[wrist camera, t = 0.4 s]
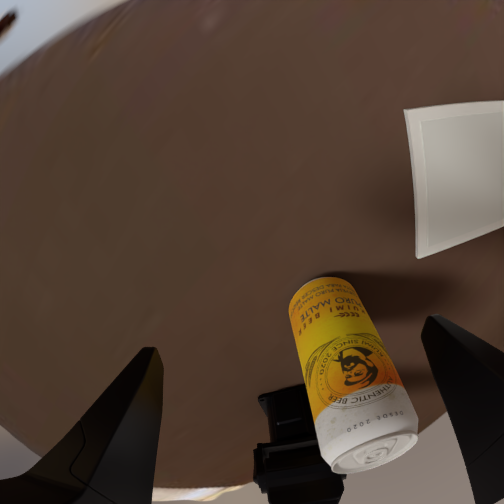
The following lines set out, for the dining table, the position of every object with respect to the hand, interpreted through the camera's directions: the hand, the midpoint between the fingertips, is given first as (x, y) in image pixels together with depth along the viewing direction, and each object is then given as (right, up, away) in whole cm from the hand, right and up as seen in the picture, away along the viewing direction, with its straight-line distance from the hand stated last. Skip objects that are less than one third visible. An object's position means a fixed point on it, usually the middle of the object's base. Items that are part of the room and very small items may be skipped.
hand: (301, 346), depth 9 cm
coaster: (+18, +10, +12) cm, 23 cm away
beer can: (+5, -1, +17) cm, 18 cm away
